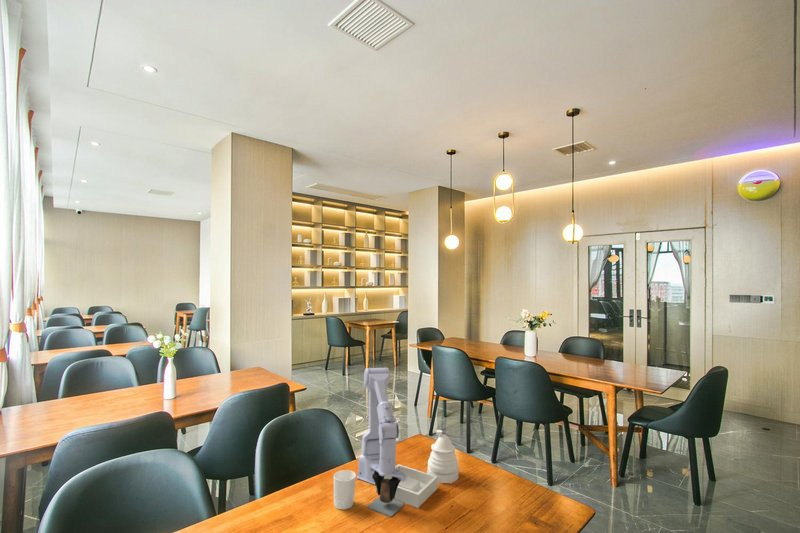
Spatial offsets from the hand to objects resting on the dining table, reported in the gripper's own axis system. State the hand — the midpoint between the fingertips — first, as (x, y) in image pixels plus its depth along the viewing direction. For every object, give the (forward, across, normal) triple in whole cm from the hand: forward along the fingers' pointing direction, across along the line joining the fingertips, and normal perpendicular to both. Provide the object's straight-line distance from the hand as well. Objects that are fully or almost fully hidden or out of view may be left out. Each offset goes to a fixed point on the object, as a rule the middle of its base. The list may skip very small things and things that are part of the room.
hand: (386, 496), depth 133 cm
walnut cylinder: (+1, 0, 0) cm, 1 cm away
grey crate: (+3, +1, +14) cm, 14 cm away
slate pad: (+3, 0, 0) cm, 3 cm away
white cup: (+4, -13, -8) cm, 15 cm away
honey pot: (+4, +8, +32) cm, 33 cm away
